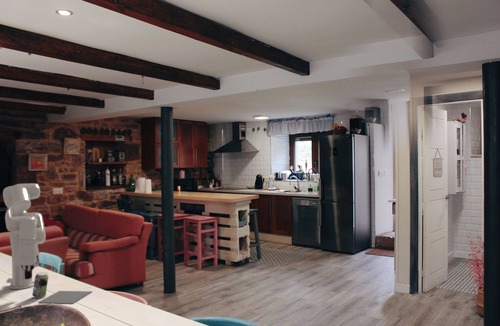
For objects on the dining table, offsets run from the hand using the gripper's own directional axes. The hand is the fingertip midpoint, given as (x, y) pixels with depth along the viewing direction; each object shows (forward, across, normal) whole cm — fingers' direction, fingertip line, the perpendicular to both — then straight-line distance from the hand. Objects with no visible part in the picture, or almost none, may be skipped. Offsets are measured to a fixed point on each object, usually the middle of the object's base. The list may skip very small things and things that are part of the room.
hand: (28, 278), depth 208 cm
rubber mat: (+9, +20, 0) cm, 22 cm away
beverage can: (+10, +6, 0) cm, 11 cm away
